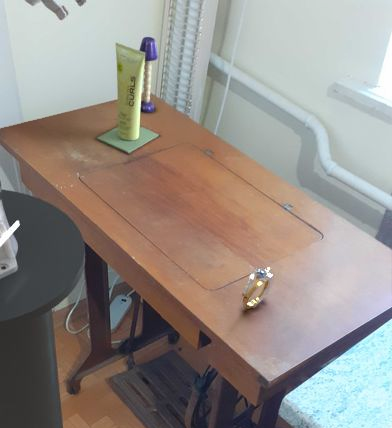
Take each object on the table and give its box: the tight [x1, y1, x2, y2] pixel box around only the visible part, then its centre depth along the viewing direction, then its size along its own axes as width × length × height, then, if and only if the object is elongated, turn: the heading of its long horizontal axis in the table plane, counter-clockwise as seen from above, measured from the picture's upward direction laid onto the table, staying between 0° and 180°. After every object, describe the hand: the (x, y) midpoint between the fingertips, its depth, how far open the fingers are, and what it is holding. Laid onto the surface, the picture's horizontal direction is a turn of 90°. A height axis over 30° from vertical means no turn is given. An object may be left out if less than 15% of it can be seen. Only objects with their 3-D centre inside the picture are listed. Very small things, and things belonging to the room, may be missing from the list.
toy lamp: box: [139, 36, 159, 114], centre depth 132 cm, size 5×5×17 cm
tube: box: [115, 42, 145, 141], centre depth 120 cm, size 6×5×20 cm
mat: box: [97, 125, 159, 154], centre depth 127 cm, size 12×9×1 cm
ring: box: [240, 267, 275, 310], centre depth 91 cm, size 7×3×8 cm, turn 131°
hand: (74, 10), depth 111 cm, fingers open, 8 cm apart
